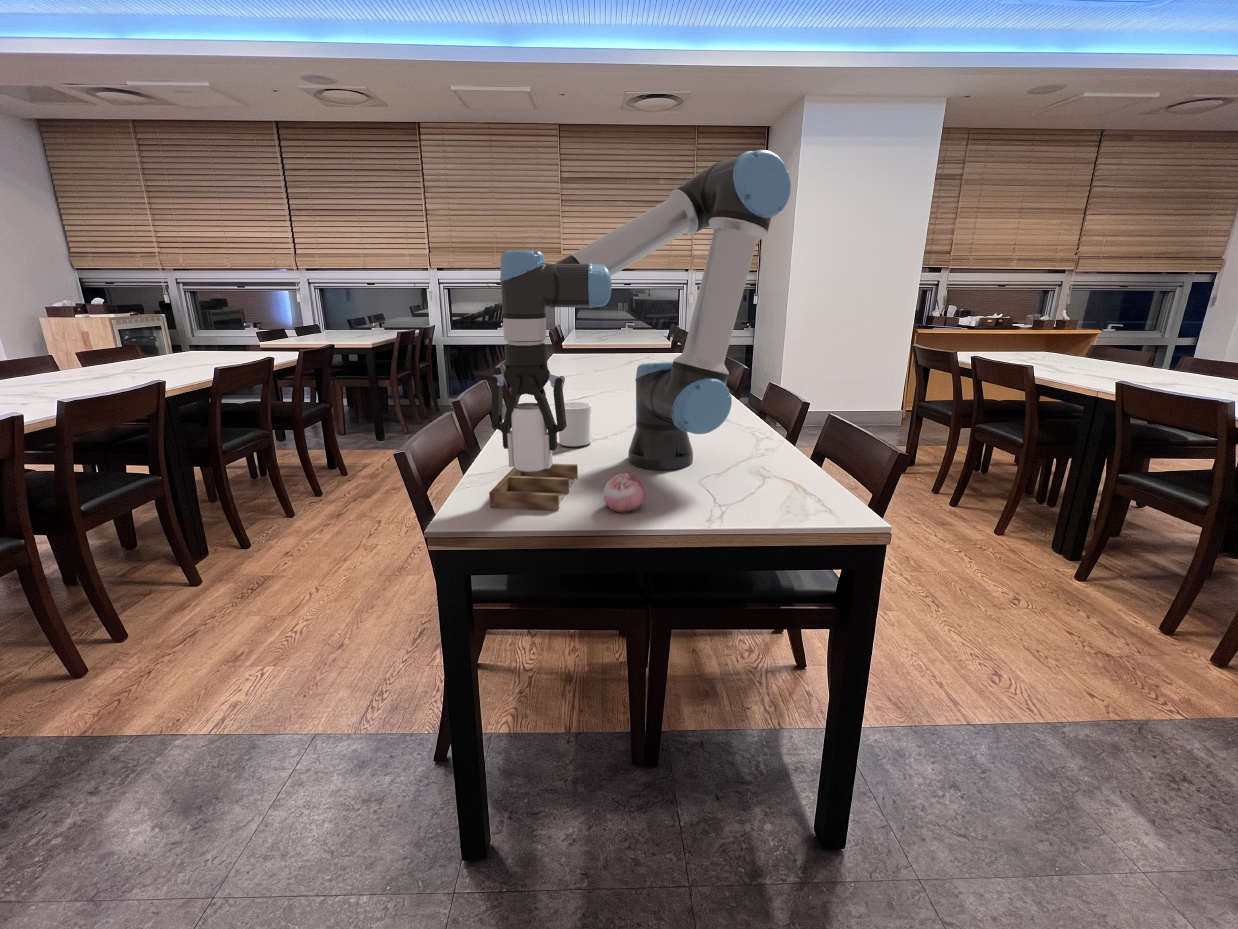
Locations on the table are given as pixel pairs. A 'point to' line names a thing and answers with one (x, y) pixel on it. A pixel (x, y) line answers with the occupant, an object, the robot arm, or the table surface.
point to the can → (528, 438)
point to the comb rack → (534, 488)
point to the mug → (576, 425)
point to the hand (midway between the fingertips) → (531, 465)
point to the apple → (624, 493)
